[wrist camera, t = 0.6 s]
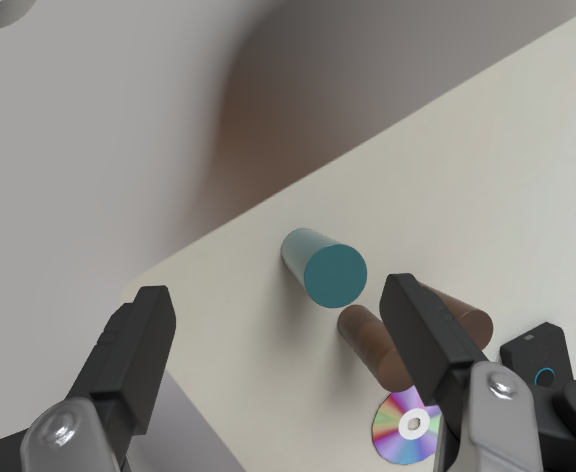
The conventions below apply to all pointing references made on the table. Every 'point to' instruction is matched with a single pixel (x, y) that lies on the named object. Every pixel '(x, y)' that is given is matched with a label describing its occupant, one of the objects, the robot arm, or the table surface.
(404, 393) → the cd
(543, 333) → the smart home device
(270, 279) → the table surface
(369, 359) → the brown wooden cylinder
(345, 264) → the teal cylinder
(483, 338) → the cylinder
